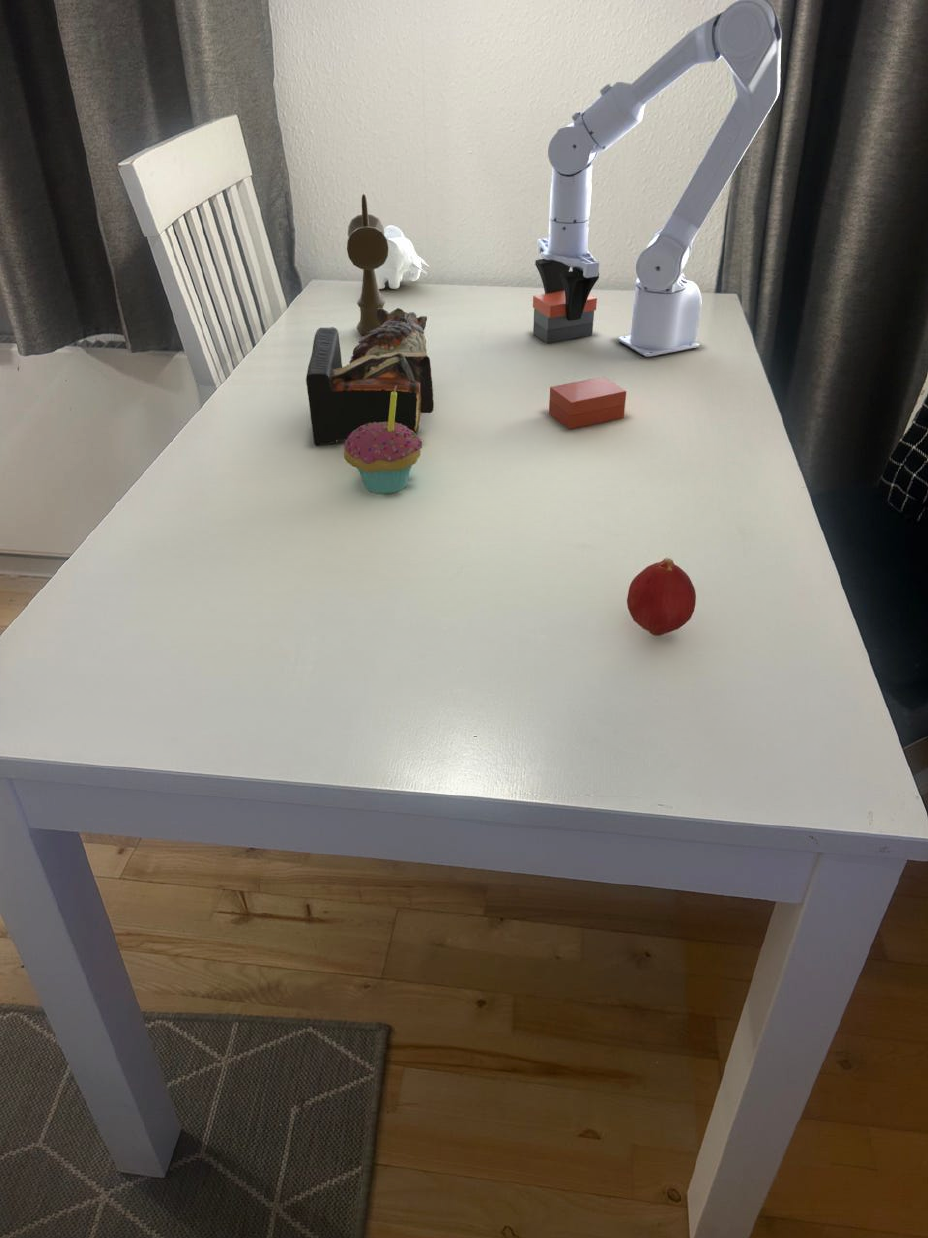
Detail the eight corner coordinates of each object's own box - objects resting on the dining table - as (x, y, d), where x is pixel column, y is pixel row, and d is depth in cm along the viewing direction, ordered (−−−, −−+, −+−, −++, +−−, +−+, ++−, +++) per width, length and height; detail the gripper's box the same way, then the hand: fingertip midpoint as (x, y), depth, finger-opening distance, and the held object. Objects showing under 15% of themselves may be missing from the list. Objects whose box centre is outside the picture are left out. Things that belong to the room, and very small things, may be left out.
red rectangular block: (601, 402, 121) (602, 389, 120) (623, 417, 117) (625, 404, 116) (548, 413, 118) (549, 400, 117) (569, 429, 114) (570, 416, 113)
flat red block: (577, 299, 142) (578, 288, 141) (596, 310, 138) (597, 298, 137) (532, 307, 139) (533, 295, 138) (549, 318, 135) (550, 305, 134)
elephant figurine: (426, 293, 158) (425, 239, 152) (357, 292, 158) (353, 238, 153) (431, 276, 165) (429, 224, 160) (365, 275, 166) (362, 224, 161)
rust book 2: (602, 389, 120) (603, 376, 119) (625, 404, 116) (626, 391, 115) (549, 400, 117) (550, 386, 116) (570, 416, 113) (571, 402, 112)
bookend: (302, 379, 105) (318, 288, 123) (316, 459, 112) (329, 362, 130) (431, 372, 105) (427, 282, 123) (436, 453, 112) (432, 357, 130)
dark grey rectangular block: (577, 326, 144) (578, 313, 143) (592, 335, 141) (593, 322, 140) (532, 333, 141) (533, 321, 140) (547, 343, 138) (547, 330, 137)
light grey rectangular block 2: (578, 313, 143) (579, 300, 142) (593, 322, 140) (594, 309, 138) (533, 321, 140) (533, 308, 139) (547, 330, 137) (548, 317, 136)
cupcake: (433, 473, 105) (430, 373, 98) (405, 508, 99) (400, 404, 92) (365, 462, 107) (357, 363, 100) (334, 496, 101) (322, 393, 94)
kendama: (354, 343, 139) (342, 202, 126) (353, 322, 146) (342, 187, 134) (393, 342, 139) (386, 201, 127) (390, 320, 147) (383, 185, 135)
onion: (617, 615, 83) (625, 540, 78) (679, 611, 83) (691, 537, 79) (631, 655, 78) (641, 578, 74) (697, 651, 79) (711, 575, 74)
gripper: (521, 210, 135) (518, 302, 143) (570, 233, 124) (564, 332, 132) (562, 205, 137) (557, 296, 145) (614, 227, 127) (606, 324, 135)
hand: (563, 313), depth 139 cm, fingers closed on flat red block, 5 cm apart
